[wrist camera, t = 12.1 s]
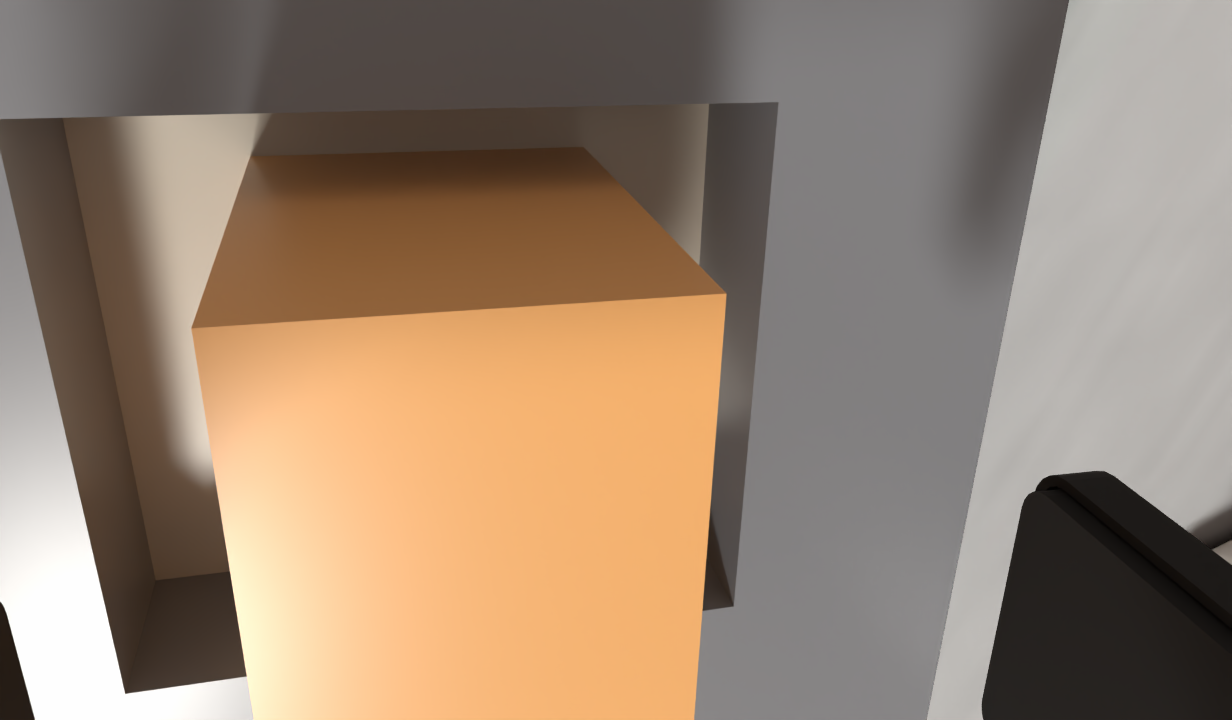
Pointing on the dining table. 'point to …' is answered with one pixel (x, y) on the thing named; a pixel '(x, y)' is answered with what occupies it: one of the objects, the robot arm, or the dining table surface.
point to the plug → (460, 438)
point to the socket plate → (650, 172)
